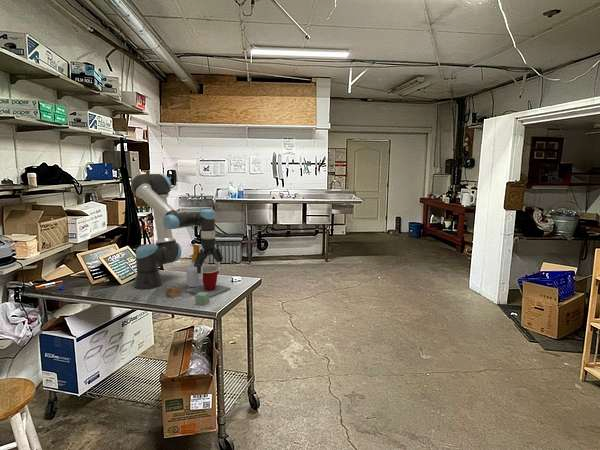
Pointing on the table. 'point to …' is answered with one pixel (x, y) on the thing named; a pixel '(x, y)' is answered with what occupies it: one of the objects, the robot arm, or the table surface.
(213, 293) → the charcoal mat
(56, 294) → the table surface
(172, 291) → the walnut block
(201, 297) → the green block
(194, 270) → the soap bottle
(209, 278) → the plastic cup
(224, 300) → the table surface
